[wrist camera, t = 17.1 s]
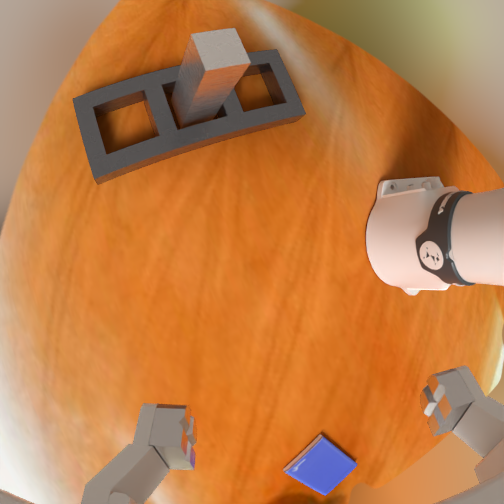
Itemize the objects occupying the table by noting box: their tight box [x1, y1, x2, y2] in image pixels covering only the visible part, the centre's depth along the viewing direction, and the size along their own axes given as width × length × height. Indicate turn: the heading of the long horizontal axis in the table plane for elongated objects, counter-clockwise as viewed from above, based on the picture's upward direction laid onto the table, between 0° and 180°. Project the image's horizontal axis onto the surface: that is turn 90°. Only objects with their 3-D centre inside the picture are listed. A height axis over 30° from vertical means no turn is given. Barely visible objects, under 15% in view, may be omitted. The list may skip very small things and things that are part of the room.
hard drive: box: [282, 434, 357, 495], centre depth 43 cm, size 2×8×12 cm
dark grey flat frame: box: [73, 49, 306, 184], centre depth 34 cm, size 26×10×3 cm, turn 112°
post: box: [171, 28, 251, 129], centre depth 29 cm, size 4×4×14 cm
